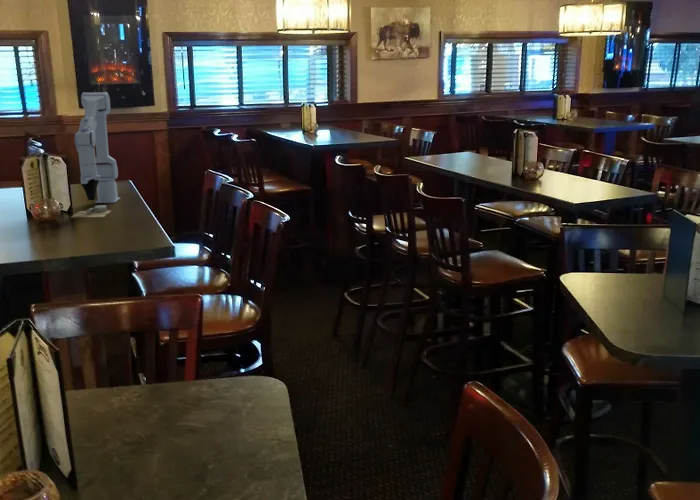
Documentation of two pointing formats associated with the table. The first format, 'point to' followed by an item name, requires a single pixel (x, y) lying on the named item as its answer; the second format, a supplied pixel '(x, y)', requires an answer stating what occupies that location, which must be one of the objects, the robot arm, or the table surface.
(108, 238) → the table surface
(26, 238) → the table surface
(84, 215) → the cork mat
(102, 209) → the lighter
